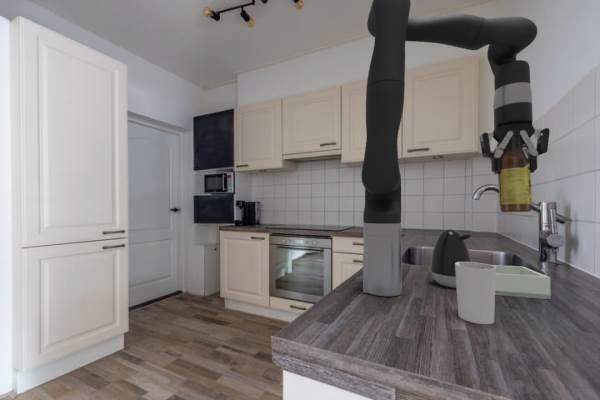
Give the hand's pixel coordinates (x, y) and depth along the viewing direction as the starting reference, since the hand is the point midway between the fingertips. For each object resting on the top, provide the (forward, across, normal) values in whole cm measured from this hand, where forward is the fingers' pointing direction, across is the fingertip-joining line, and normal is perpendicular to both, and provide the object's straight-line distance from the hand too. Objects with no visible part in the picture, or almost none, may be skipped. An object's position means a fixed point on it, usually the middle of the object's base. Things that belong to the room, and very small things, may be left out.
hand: (513, 173), depth 66 cm
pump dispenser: (+30, -13, +4) cm, 33 cm away
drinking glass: (+30, -14, -20) cm, 38 cm away
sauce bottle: (+10, 0, 0) cm, 10 cm away
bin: (+30, 0, +4) cm, 30 cm away
